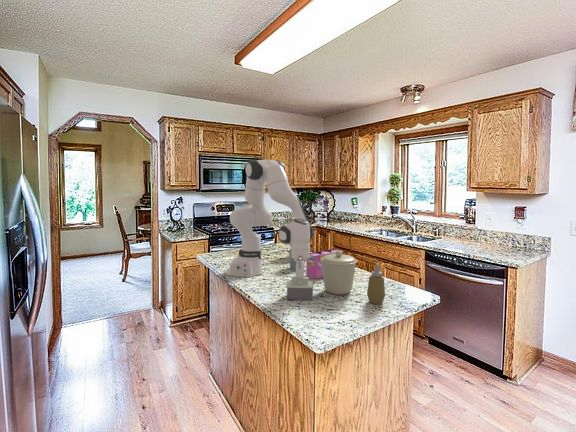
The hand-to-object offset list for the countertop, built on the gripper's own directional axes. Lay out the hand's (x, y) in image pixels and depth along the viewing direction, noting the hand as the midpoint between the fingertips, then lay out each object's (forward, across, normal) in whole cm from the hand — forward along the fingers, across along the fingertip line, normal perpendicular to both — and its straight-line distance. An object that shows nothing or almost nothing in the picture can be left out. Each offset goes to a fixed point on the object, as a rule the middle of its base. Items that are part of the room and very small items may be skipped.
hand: (300, 282), depth 160 cm
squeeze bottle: (+8, -4, -35) cm, 36 cm away
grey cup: (+8, +52, +3) cm, 53 cm away
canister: (+8, +10, -19) cm, 23 cm away
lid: (+2, 0, 0) cm, 2 cm away
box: (+8, 0, 0) cm, 8 cm away
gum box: (+8, +40, -14) cm, 43 cm away
